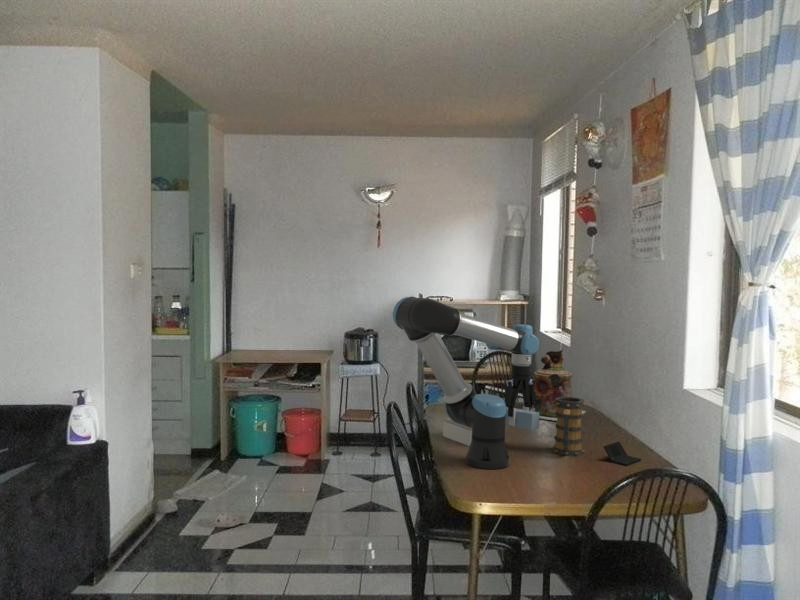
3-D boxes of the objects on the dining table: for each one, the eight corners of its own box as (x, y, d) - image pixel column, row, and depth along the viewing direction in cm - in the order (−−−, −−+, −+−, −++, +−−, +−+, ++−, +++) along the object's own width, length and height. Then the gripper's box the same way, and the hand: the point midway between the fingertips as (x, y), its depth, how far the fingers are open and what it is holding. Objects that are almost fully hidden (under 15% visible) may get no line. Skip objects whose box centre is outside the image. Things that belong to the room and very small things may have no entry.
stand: (469, 446, 254) (470, 427, 254) (442, 436, 269) (443, 418, 269) (497, 442, 261) (498, 423, 261) (470, 432, 277) (470, 415, 276)
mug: (586, 449, 253) (588, 397, 252) (583, 461, 237) (585, 406, 236) (552, 446, 257) (554, 395, 256) (546, 457, 241) (548, 403, 240)
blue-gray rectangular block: (531, 430, 248) (532, 414, 248) (498, 423, 258) (499, 407, 258) (538, 428, 251) (539, 412, 251) (505, 421, 262) (506, 406, 261)
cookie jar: (538, 408, 330) (540, 344, 329) (586, 415, 316) (588, 349, 314) (517, 416, 310) (519, 348, 309) (567, 424, 296) (569, 353, 294)
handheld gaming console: (632, 463, 230) (617, 437, 235) (615, 472, 234) (600, 446, 238) (643, 460, 239) (628, 436, 244) (626, 470, 243) (612, 445, 247)
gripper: (508, 366, 246) (505, 428, 246) (546, 365, 256) (543, 424, 256) (495, 364, 252) (493, 424, 253) (533, 362, 262) (530, 420, 263)
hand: (518, 424), depth 255 cm, fingers closed on blue-gray rectangular block, 6 cm apart
